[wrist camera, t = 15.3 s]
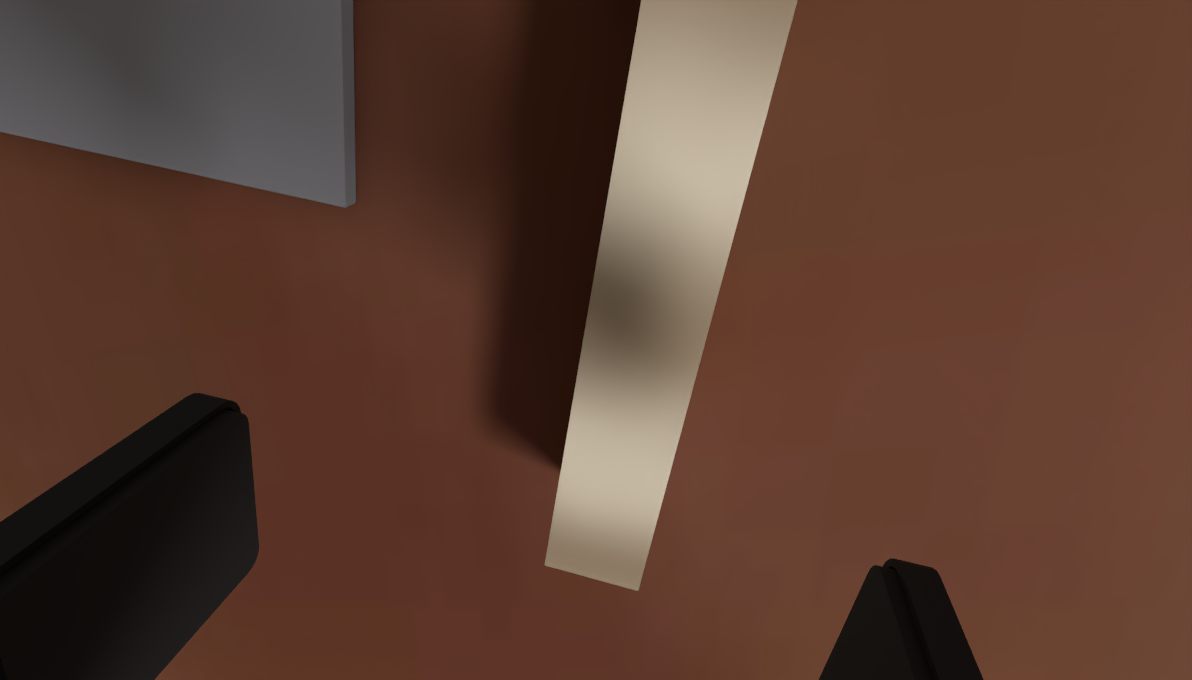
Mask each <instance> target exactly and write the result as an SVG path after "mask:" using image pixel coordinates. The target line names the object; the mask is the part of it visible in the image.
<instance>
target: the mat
mask: <svg viewBox="0 0 1192 680" xmlns="http://www.w3.org/2000/svg"><path fill="white" fill-rule="evenodd" d="M0 132H4V133H8V134H13V135H17V136H22V137H26V138H31V139H35V140H40V141H45V142H49V143H54V144H58V145H63V146H67V147H72V148H76V149H81V150H85V151H90V152H95V153H99V154H104V155H108V156H113V157H117V158H122V159H126V160H131V161H136V162H140V163H145V164H149V165H154V166H158V167H163V168H167V169H172V170H176V171H181V172H186V173H190V174H195V175H199V176H204V177H208V178H213V179H217V180H222V181H227V182H231V183H236V184H240V185H245V186H249V187H254V188H258V189H263V190H267V191H272V192H277V193H281V194H286V195H290V196H295V197H299V198H304V199H308V200H313V201H318V202H322V203H327V204H331V205H336V206H340V207H345V208H346V207H348V206H350V205H352V204H354V203H356V168H355V101H354V34H353V0H0Z"/></svg>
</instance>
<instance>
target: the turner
mask: <svg viewBox="0 0 1192 680" xmlns="http://www.w3.org/2000/svg"><path fill="white" fill-rule="evenodd" d="M796 4H797V0H641V5H640V11H639V17H638V22H637V28H636V34H635V40H634V46H633V52H632V57H631V63H630V69H629V75H628V81H627V87H626V92H625V98H624V104H623V110H622V116H621V122H620V128H619V133H618V139H617V145H616V151H615V157H614V163H613V168H612V174H611V180H610V186H609V192H608V198H607V204H606V209H605V215H604V221H603V227H602V233H601V239H600V244H599V250H598V256H597V262H596V268H595V274H594V279H593V285H592V291H591V297H590V303H589V309H588V315H587V320H586V326H585V332H584V338H583V344H582V350H581V355H580V361H579V367H578V373H577V379H576V385H575V391H574V396H573V402H572V408H571V414H570V420H569V426H568V431H567V437H566V443H565V449H564V455H563V461H562V466H561V472H560V478H559V484H558V490H557V496H556V502H555V507H554V513H553V519H552V525H551V531H550V537H549V542H548V548H547V554H546V560H545V565H546V566H549V567H553V568H557V569H560V570H564V571H567V572H571V573H575V574H578V575H582V576H586V577H589V578H593V579H596V580H600V581H604V582H607V583H611V584H615V585H618V586H622V587H625V588H629V589H633V590H636V591H638V590H639V586H640V582H641V578H642V575H643V571H644V567H645V564H646V560H647V556H648V552H649V549H650V545H651V541H652V538H653V534H654V530H655V527H656V523H657V519H658V515H659V512H660V508H661V504H662V501H663V497H664V493H665V490H666V486H667V482H668V478H669V475H670V471H671V467H672V464H673V460H674V456H675V452H676V449H677V445H678V441H679V438H680V434H681V430H682V427H683V423H684V419H685V415H686V412H687V408H688V404H689V401H690V397H691V393H692V389H693V386H694V382H695V378H696V375H697V371H698V367H699V364H700V360H701V356H702V352H703V349H704V345H705V341H706V338H707V334H708V330H709V327H710V323H711V319H712V315H713V312H714V308H715V304H716V301H717V297H718V293H719V289H720V286H721V282H722V278H723V275H724V271H725V267H726V264H727V260H728V256H729V252H730V249H731V245H732V241H733V238H734V234H735V230H736V226H737V223H738V219H739V215H740V212H741V208H742V204H743V201H744V197H745V193H746V189H747V186H748V182H749V178H750V175H751V171H752V167H753V163H754V160H755V156H756V152H757V149H758V145H759V141H760V138H761V134H762V130H763V126H764V123H765V119H766V115H767V112H768V108H769V104H770V101H771V97H772V93H773V89H774V86H775V82H776V78H777V75H778V71H779V67H780V63H781V60H782V56H783V52H784V49H785V45H786V41H787V38H788V34H789V30H790V26H791V23H792V19H793V15H794V12H795V8H796Z"/></svg>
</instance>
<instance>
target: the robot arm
mask: <svg viewBox="0 0 1192 680" xmlns="http://www.w3.org/2000/svg"><path fill="white" fill-rule="evenodd" d="M258 551H259V541H258V529H257V517H256V505H255V493H254V481H253V469H252V457H251V445H250V433H249V422H248V418H247V417H246V415H244V414H242V413H241V411H240V407H239V406H238V404H237V403H235V402H233V401H230V400H226V399H222V398H218V397H213V396H209V395H205V394H201V393H194V394H191V395H189V396H187V397H186V398H184V399H183V400H181V401H180V402H178V403H177V404H175V405H174V406H172V407H171V408H169V409H168V410H166V411H165V412H163V413H162V414H160V415H159V416H157V417H156V418H154V419H153V420H151V421H150V422H148V423H147V424H145V425H144V426H142V427H141V428H139V429H138V430H137V431H135V432H134V433H132V434H131V435H129V436H128V437H126V438H125V439H123V440H122V441H120V442H119V443H117V444H116V445H114V446H113V447H111V448H110V449H108V450H107V451H105V452H104V453H102V454H101V455H99V456H98V457H96V458H95V459H93V460H92V461H90V462H89V463H87V464H86V465H84V466H83V467H82V468H80V469H79V470H77V471H76V472H74V473H73V474H71V475H70V476H68V477H67V478H65V479H64V480H62V481H61V482H59V483H58V484H56V485H55V486H53V487H52V488H50V489H49V490H47V491H46V492H44V493H43V494H41V495H40V496H38V497H37V498H35V499H34V500H32V501H31V502H30V503H28V504H27V505H25V506H24V507H22V508H21V509H19V510H18V511H16V512H15V513H13V514H12V515H10V516H9V517H7V518H6V519H4V520H3V521H1V522H0V680H154V679H155V678H156V677H157V676H158V675H159V674H160V673H161V671H162V670H163V669H164V668H165V667H166V666H167V665H168V663H169V662H170V661H171V660H172V659H173V658H174V657H175V655H176V654H177V653H178V652H179V651H180V650H181V649H182V648H183V646H184V645H185V644H186V643H187V642H188V641H189V640H190V638H191V637H192V636H193V635H194V634H195V633H196V632H197V630H198V629H199V628H200V627H201V626H202V625H203V624H204V622H205V621H206V620H207V619H208V618H209V617H210V616H211V615H212V613H213V612H214V611H215V610H216V609H217V608H218V607H219V605H220V604H221V603H222V602H223V601H224V600H225V599H226V597H227V596H228V595H229V594H230V593H231V592H232V591H233V589H234V588H235V587H236V586H237V585H238V584H239V583H240V582H241V580H242V579H243V578H244V577H245V576H246V575H247V574H248V572H249V571H250V570H251V568H252V567H253V565H254V563H255V561H256V558H257V555H258ZM819 680H983V678H982V675H981V673H980V670H979V668H978V666H977V663H976V661H975V659H974V656H973V654H972V651H971V649H970V647H969V644H968V642H967V639H966V637H965V635H964V632H963V630H962V627H961V625H960V623H959V620H958V618H957V616H956V613H955V611H954V608H953V606H952V604H951V601H950V599H949V596H948V594H947V592H946V589H945V587H944V584H943V582H942V580H941V577H940V575H939V574H938V572H937V571H936V570H935V569H933V568H931V567H927V566H923V565H918V564H914V563H910V562H906V561H902V560H897V559H889V560H888V561H886V562H885V564H884V565H883V567H881V566H877V565H876V566H873V567H872V568H871V569H870V571H869V572H868V574H867V577H866V579H865V581H864V583H863V585H862V587H861V590H860V592H859V594H858V596H857V598H856V600H855V603H854V605H853V607H852V609H851V611H850V613H849V615H848V618H847V620H846V622H845V624H844V626H843V628H842V631H841V633H840V635H839V637H838V639H837V641H836V644H835V646H834V648H833V650H832V652H831V654H830V657H829V659H828V661H827V663H826V665H825V667H824V670H823V672H822V674H821V676H820V678H819Z"/></svg>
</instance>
